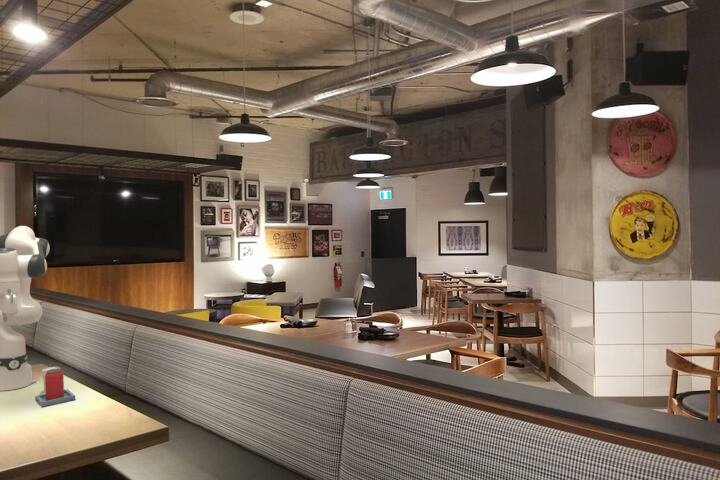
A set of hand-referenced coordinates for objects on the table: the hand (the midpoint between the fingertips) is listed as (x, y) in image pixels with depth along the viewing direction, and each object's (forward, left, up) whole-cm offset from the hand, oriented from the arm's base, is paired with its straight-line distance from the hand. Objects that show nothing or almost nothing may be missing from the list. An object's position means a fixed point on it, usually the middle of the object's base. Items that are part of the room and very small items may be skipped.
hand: (8, 323), depth 207 cm
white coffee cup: (-12, +17, -34) cm, 40 cm away
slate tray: (+3, +15, -34) cm, 37 cm away
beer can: (+3, +15, -34) cm, 37 cm away
